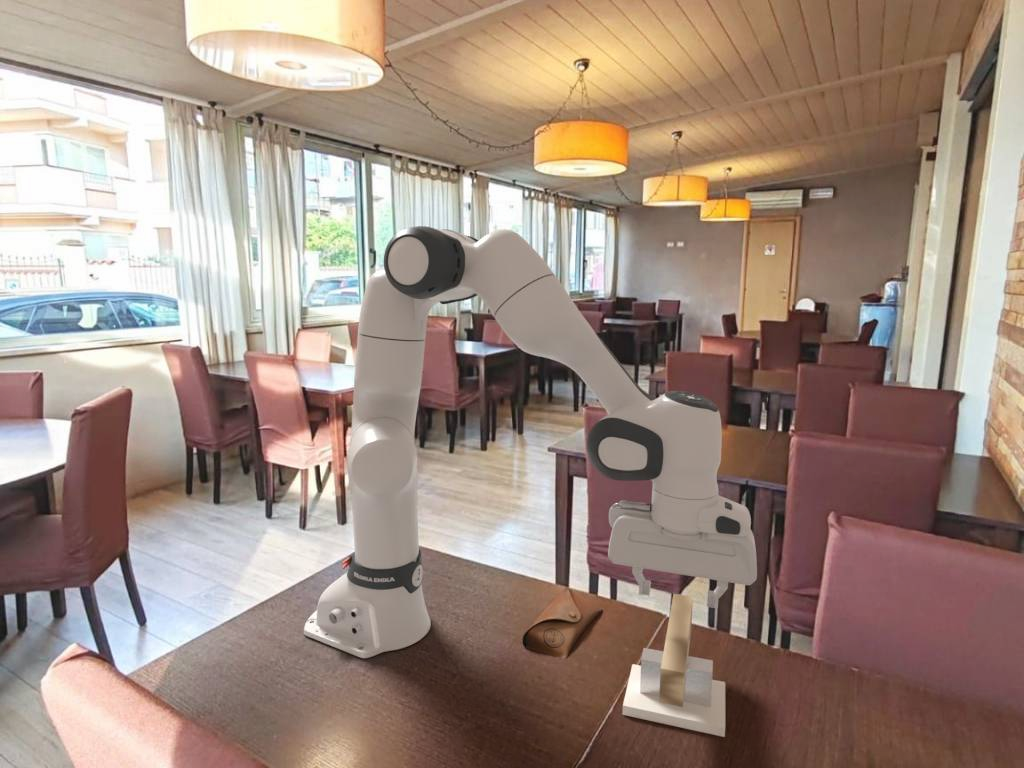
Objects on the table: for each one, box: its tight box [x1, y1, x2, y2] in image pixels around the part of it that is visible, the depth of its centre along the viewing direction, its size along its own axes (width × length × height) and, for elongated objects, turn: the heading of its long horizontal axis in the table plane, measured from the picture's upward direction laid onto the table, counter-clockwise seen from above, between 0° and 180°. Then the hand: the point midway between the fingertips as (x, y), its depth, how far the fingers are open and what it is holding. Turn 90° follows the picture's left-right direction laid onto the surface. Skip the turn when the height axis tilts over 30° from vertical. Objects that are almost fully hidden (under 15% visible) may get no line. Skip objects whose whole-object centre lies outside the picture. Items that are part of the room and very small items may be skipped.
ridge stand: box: [622, 647, 726, 738], centre depth 91 cm, size 14×10×7 cm
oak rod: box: [659, 593, 694, 707], centre depth 90 cm, size 3×20×5 cm, turn 161°
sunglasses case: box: [522, 586, 603, 659], centre depth 112 cm, size 18×7×7 cm
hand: (677, 599), depth 89 cm, fingers open, 8 cm apart
